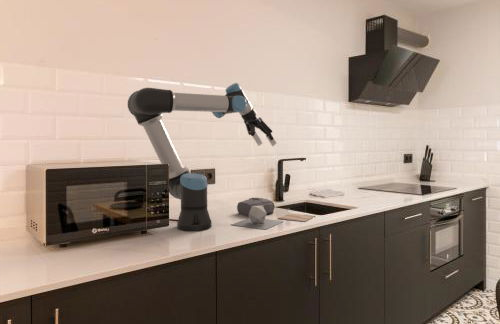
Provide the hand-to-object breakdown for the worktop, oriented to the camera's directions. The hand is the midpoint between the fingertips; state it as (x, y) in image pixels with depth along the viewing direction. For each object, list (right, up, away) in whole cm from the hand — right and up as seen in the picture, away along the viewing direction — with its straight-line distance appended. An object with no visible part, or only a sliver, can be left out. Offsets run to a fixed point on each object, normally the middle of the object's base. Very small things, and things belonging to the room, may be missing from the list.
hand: (267, 144), depth 200 cm
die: (-6, -38, -27) cm, 47 cm away
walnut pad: (+14, -37, -15) cm, 42 cm away
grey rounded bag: (-5, -37, -3) cm, 37 cm away
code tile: (-6, -38, -27) cm, 47 cm away
